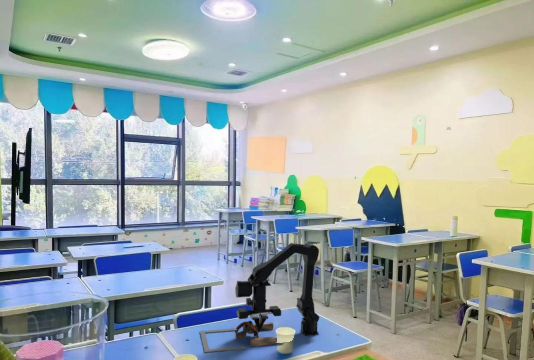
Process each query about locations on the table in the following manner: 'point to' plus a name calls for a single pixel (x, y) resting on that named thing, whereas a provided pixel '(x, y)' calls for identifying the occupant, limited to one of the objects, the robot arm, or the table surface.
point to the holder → (266, 339)
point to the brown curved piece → (246, 330)
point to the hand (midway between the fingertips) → (258, 331)
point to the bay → (207, 350)
